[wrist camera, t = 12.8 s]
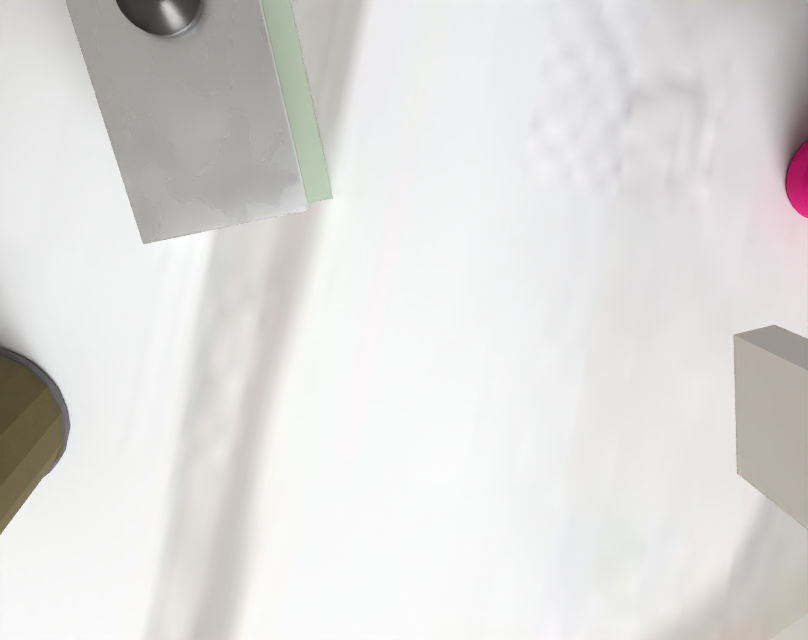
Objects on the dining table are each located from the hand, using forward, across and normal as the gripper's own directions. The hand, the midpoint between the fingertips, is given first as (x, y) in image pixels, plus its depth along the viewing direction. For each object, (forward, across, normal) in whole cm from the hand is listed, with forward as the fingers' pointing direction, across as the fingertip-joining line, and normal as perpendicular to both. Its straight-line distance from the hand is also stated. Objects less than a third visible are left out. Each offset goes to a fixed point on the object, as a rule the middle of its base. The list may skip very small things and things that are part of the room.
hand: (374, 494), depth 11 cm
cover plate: (+22, +4, -8) cm, 24 cm away
